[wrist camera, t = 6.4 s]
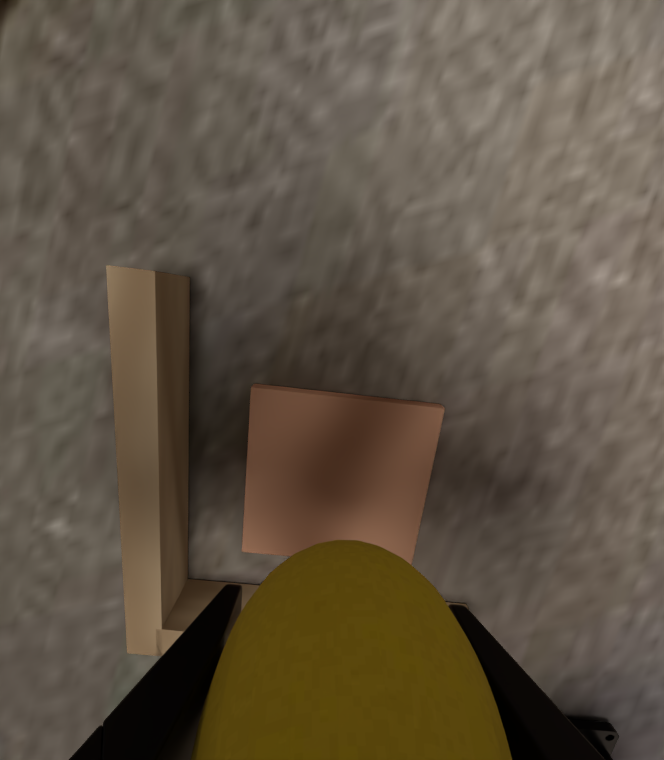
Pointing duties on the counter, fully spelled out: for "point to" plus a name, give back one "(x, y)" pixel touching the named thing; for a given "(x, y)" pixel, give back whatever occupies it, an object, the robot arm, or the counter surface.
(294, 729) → the lemon
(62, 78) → the counter surface
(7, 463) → the counter surface
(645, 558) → the counter surface
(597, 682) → the counter surface
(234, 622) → the robot arm
